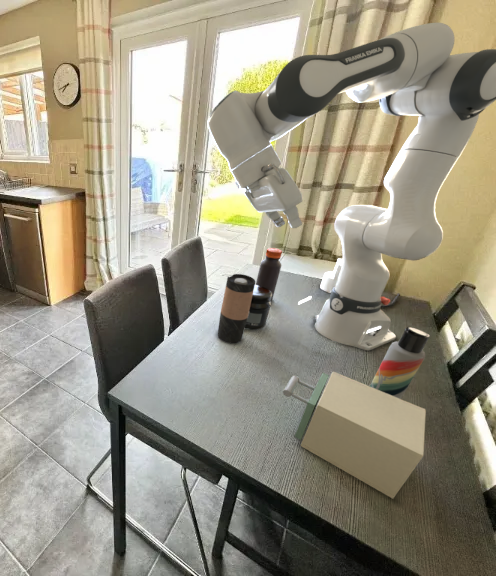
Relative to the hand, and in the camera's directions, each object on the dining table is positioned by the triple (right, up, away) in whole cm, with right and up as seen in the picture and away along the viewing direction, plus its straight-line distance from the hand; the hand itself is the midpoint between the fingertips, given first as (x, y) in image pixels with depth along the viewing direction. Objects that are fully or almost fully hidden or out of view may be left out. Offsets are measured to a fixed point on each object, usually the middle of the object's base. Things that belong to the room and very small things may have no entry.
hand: (288, 226), depth 66 cm
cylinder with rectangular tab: (+52, -14, +59) cm, 80 cm away
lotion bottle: (+26, -40, +7) cm, 48 cm away
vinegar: (+20, -18, +51) cm, 58 cm away
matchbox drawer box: (+10, -46, -4) cm, 47 cm away
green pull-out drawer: (+7, -44, -2) cm, 44 cm away
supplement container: (+8, -25, +37) cm, 45 cm away
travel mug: (-1, -29, +30) cm, 41 cm away
